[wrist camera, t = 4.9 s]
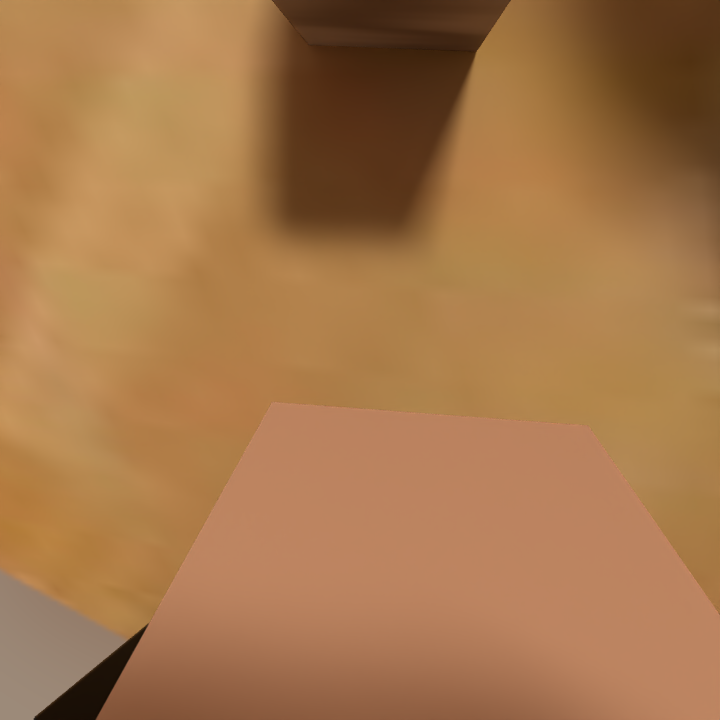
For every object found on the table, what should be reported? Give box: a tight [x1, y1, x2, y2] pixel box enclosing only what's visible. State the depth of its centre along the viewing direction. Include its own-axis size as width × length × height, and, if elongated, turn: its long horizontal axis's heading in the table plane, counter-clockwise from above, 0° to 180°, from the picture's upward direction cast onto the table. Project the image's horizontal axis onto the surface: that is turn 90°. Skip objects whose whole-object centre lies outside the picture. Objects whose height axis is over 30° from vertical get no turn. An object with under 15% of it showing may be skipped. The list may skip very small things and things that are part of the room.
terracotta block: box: [96, 402, 720, 720], centre depth 7 cm, size 5×5×6 cm
